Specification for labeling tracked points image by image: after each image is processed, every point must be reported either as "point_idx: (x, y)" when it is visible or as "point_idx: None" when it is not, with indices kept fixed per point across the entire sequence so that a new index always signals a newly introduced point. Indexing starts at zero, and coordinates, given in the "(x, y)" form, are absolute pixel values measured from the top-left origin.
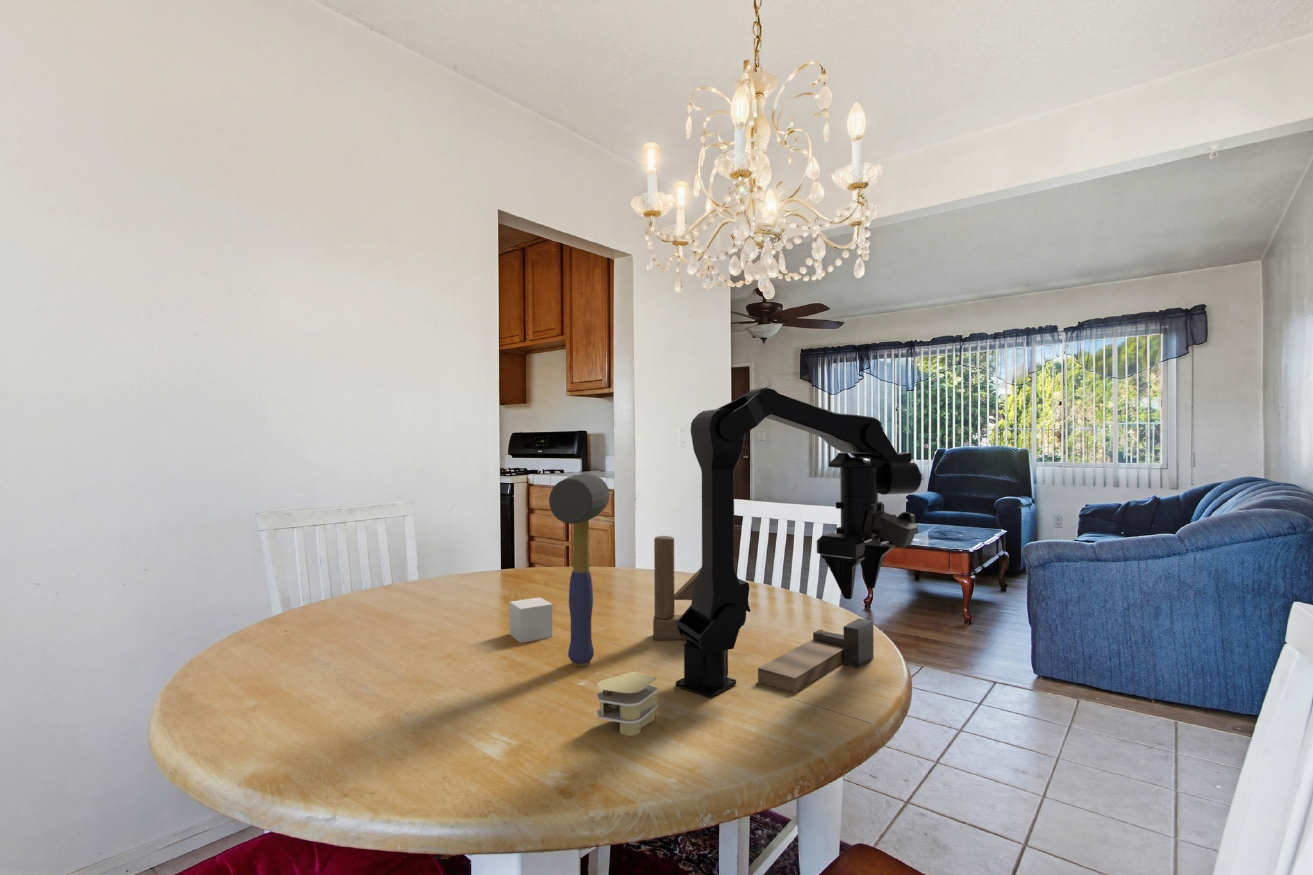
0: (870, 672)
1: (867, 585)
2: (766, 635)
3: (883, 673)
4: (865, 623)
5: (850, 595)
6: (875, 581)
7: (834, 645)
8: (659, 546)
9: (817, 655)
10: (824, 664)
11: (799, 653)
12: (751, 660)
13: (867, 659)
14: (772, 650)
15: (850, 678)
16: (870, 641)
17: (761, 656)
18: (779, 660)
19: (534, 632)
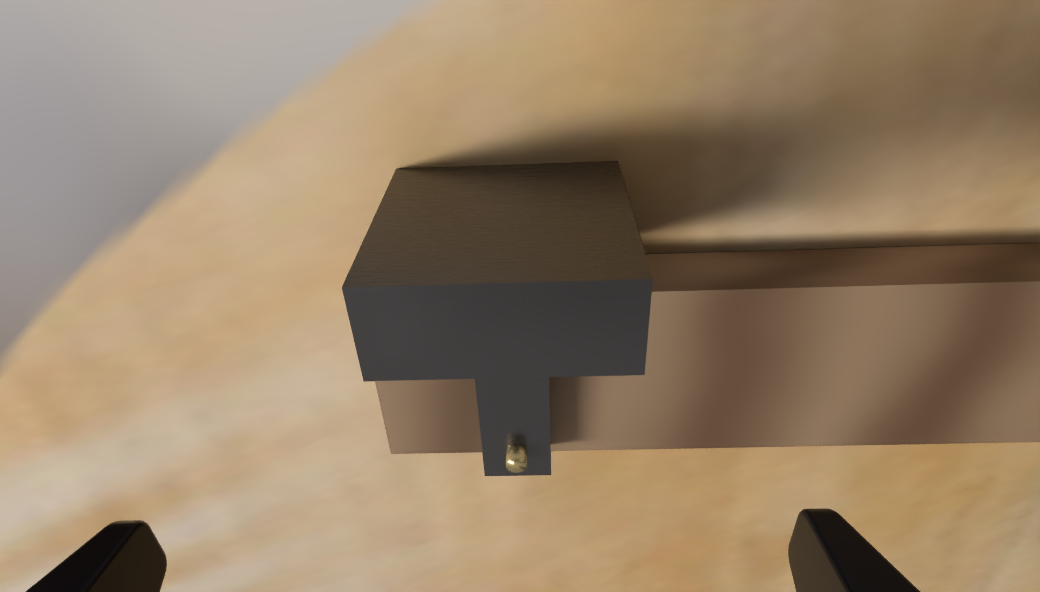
0: (644, 80)
1: (160, 585)
2: (488, 581)
3: (612, 10)
4: (458, 301)
5: (870, 546)
6: (74, 587)
7: None
8: None
9: (776, 341)
10: (831, 274)
11: (791, 408)
12: (805, 505)
13: (486, 171)
14: (641, 505)
15: (805, 126)
16: (424, 215)
17: (737, 502)
18: (945, 424)
19: None
